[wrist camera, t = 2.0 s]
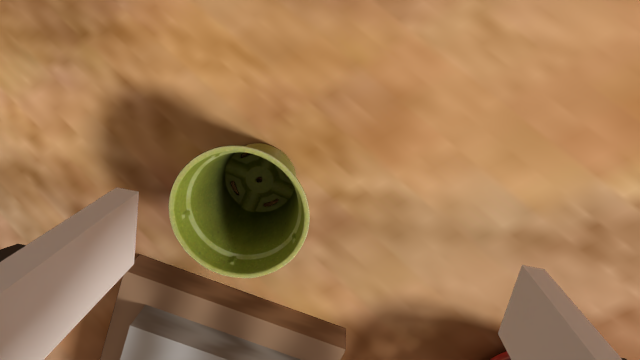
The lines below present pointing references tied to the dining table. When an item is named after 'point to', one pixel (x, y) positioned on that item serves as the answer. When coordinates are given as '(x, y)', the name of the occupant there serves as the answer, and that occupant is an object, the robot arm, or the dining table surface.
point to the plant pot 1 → (239, 210)
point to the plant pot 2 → (502, 356)
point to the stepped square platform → (208, 321)
